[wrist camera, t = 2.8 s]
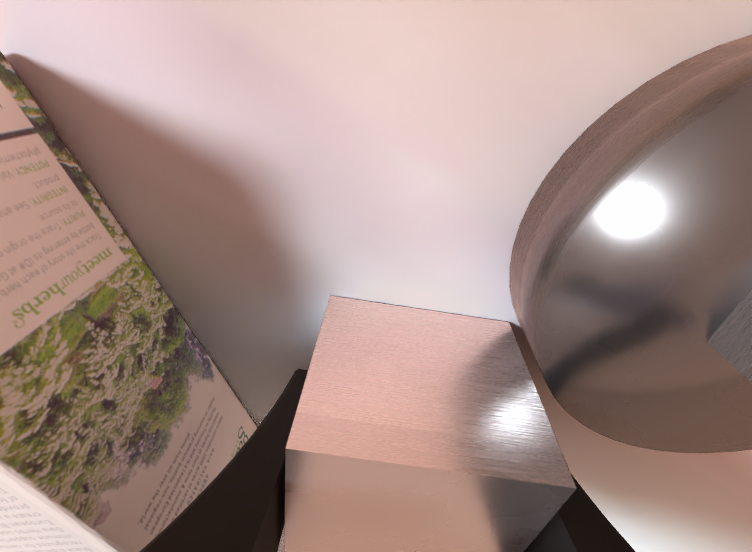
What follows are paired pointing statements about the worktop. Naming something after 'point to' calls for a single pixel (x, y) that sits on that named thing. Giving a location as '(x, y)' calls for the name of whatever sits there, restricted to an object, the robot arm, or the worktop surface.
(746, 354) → the ratchet
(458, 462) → the beige small block
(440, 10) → the worktop surface
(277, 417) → the robot arm
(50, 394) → the syrup box
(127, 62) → the worktop surface
